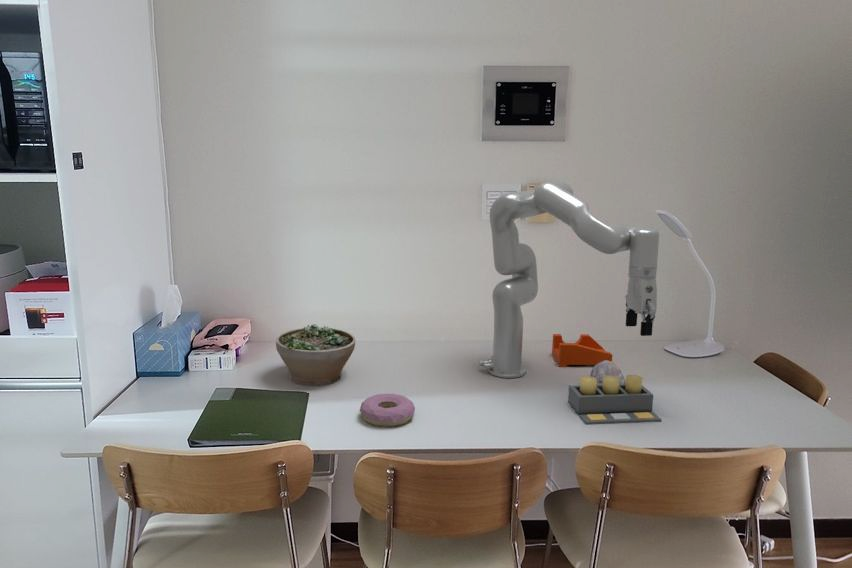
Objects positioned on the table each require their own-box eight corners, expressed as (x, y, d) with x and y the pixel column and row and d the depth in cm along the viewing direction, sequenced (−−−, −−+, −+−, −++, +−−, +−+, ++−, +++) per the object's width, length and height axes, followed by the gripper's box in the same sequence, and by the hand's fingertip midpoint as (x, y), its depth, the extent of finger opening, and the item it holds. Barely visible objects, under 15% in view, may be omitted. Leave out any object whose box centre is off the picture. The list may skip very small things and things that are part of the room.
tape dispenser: (559, 368, 230) (560, 345, 228) (551, 356, 243) (553, 334, 241) (611, 368, 231) (613, 345, 229) (601, 356, 243) (602, 334, 241)
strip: (585, 424, 185) (585, 421, 185) (579, 416, 190) (579, 413, 190) (661, 421, 188) (661, 418, 187) (653, 414, 192) (653, 411, 192)
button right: (628, 396, 194) (630, 380, 193) (622, 390, 198) (623, 374, 197) (643, 396, 194) (645, 380, 193) (637, 390, 199) (638, 374, 198)
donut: (355, 409, 193) (355, 393, 192) (407, 404, 197) (407, 388, 196) (366, 432, 178) (366, 415, 177) (421, 426, 183) (421, 409, 182)
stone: (610, 411, 208) (636, 391, 206) (589, 388, 208) (614, 368, 205) (602, 390, 225) (626, 372, 223) (582, 369, 224) (605, 350, 222)
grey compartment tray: (578, 415, 191) (579, 397, 190) (567, 402, 200) (569, 385, 198) (651, 412, 193) (653, 394, 192) (638, 400, 202) (639, 383, 201)
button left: (582, 398, 192) (583, 381, 191) (577, 392, 197) (578, 376, 196) (597, 397, 193) (599, 381, 192) (592, 391, 197) (593, 375, 196)
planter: (306, 359, 234) (305, 318, 230) (369, 371, 223) (369, 328, 220) (259, 383, 211) (257, 338, 208) (327, 397, 201) (326, 350, 197)
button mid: (605, 397, 193) (606, 381, 192) (599, 391, 198) (600, 375, 196) (620, 397, 194) (622, 380, 193) (614, 391, 198) (616, 375, 197)
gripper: (669, 277, 181) (665, 338, 185) (641, 266, 198) (637, 322, 201) (643, 278, 180) (639, 339, 184) (617, 266, 197) (613, 323, 200)
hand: (638, 330), depth 193 cm, fingers open, 9 cm apart
